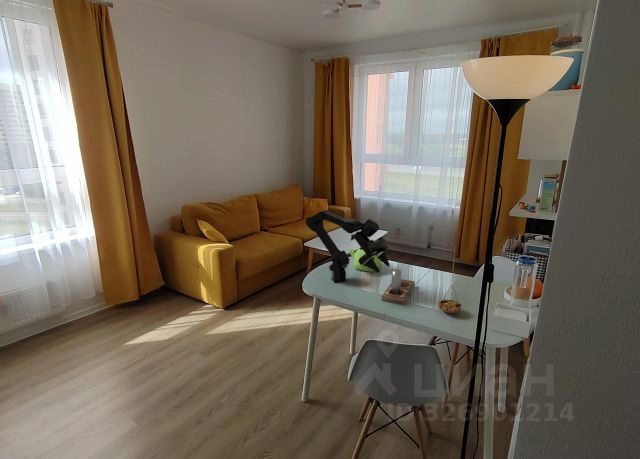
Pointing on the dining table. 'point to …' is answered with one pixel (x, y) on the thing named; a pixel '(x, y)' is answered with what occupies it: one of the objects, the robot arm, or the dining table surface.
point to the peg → (396, 282)
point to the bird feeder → (450, 301)
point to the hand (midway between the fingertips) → (384, 269)
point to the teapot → (357, 265)
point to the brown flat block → (404, 293)
